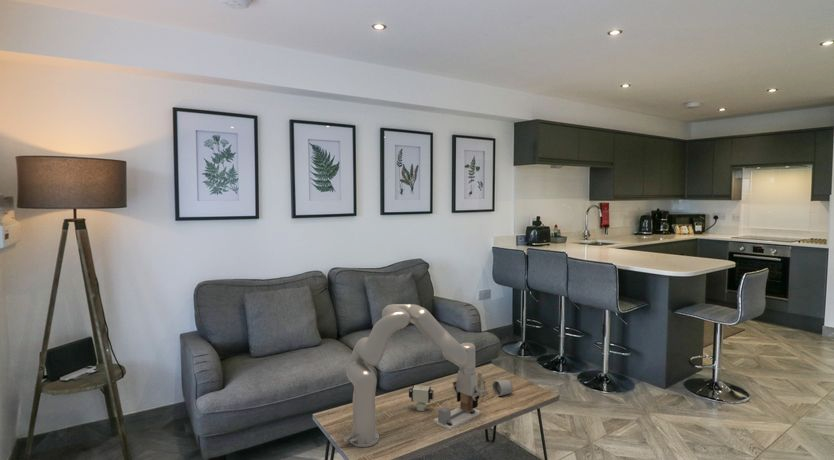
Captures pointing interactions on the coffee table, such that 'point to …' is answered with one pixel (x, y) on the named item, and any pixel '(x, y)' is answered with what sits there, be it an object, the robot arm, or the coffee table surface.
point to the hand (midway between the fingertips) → (467, 404)
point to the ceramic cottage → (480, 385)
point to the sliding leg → (466, 402)
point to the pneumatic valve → (421, 396)
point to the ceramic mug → (502, 387)
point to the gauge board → (454, 417)
